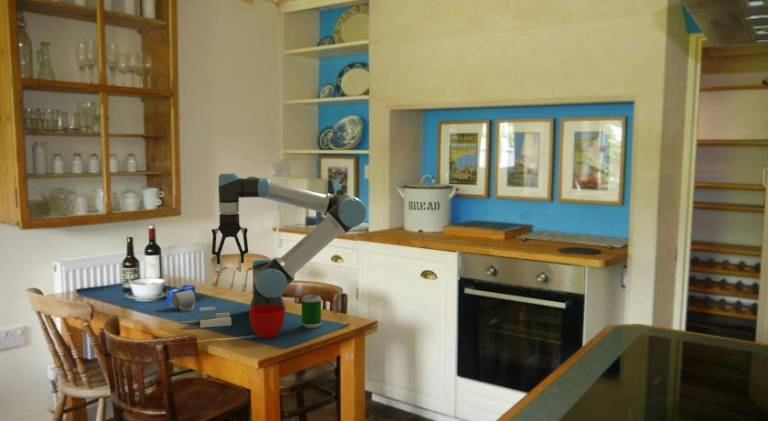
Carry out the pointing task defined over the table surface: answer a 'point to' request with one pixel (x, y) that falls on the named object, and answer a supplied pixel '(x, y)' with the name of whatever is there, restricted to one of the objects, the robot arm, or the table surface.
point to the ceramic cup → (267, 320)
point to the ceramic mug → (184, 300)
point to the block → (207, 313)
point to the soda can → (311, 311)
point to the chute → (211, 321)
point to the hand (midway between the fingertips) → (230, 271)
